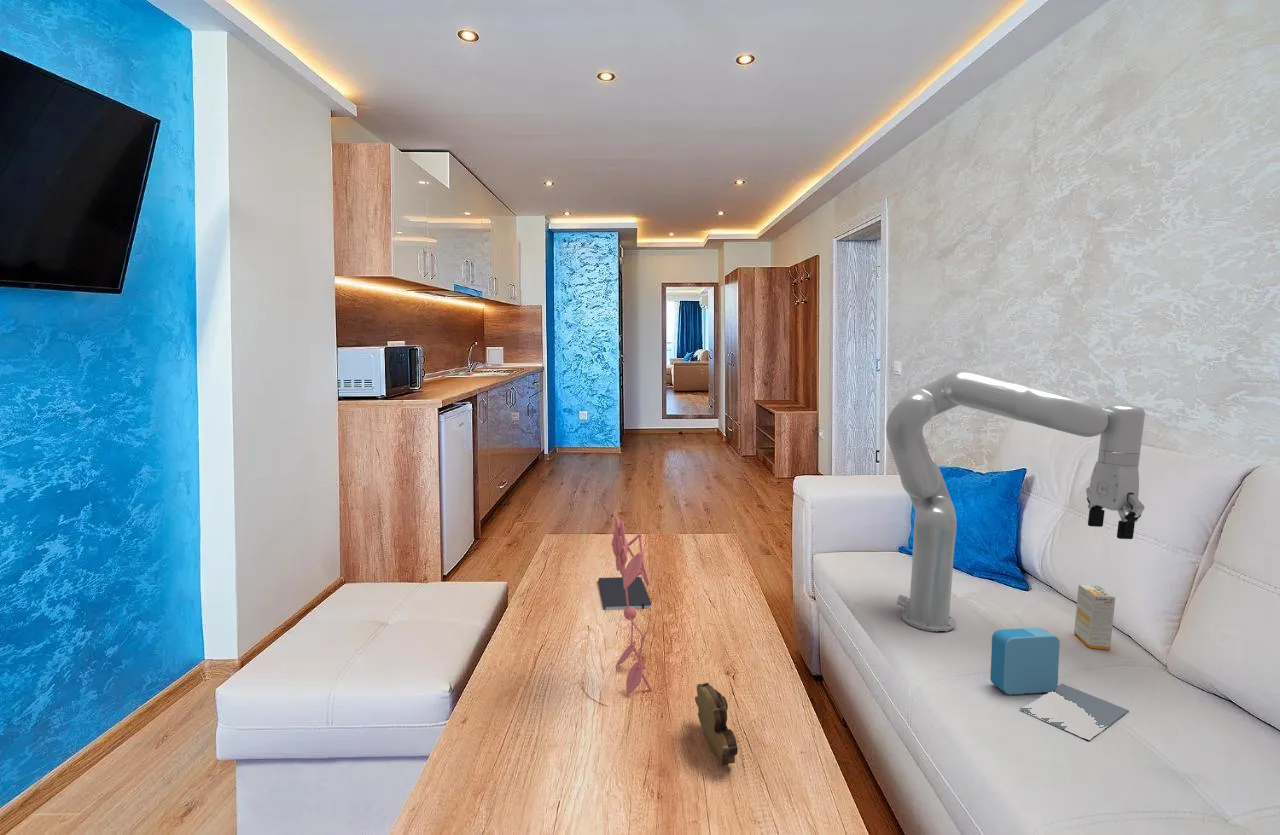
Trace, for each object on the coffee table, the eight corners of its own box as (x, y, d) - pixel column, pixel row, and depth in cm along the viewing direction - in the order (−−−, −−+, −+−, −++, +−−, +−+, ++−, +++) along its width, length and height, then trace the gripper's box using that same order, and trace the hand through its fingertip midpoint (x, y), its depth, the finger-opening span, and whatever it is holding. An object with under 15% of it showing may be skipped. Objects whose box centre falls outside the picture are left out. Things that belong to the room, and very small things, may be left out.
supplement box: (1111, 650, 152) (1117, 597, 151) (1088, 648, 153) (1094, 595, 152) (1094, 635, 160) (1099, 584, 159) (1072, 633, 161) (1077, 583, 160)
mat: (1019, 710, 126) (1019, 708, 126) (1061, 684, 136) (1061, 683, 136) (1088, 741, 116) (1088, 740, 116) (1128, 711, 126) (1129, 710, 126)
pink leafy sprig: (643, 649, 148) (643, 500, 144) (662, 713, 123) (662, 534, 119) (576, 654, 146) (574, 503, 142) (581, 719, 121) (579, 538, 117)
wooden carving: (747, 773, 106) (749, 716, 105) (721, 778, 104) (723, 720, 103) (708, 718, 121) (710, 667, 120) (686, 721, 120) (687, 670, 119)
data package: (1041, 681, 137) (1044, 626, 136) (1057, 692, 132) (1060, 635, 132) (989, 684, 135) (991, 629, 135) (1004, 695, 131) (1006, 638, 130)
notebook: (598, 582, 191) (604, 612, 170) (598, 577, 191) (604, 606, 170) (640, 581, 193) (651, 610, 172) (640, 576, 193) (652, 604, 172)
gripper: (1076, 452, 155) (1069, 521, 157) (1129, 465, 138) (1119, 543, 140) (1108, 453, 155) (1100, 522, 157) (1164, 466, 138) (1154, 544, 140)
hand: (1109, 532), depth 148 cm, fingers open, 9 cm apart
